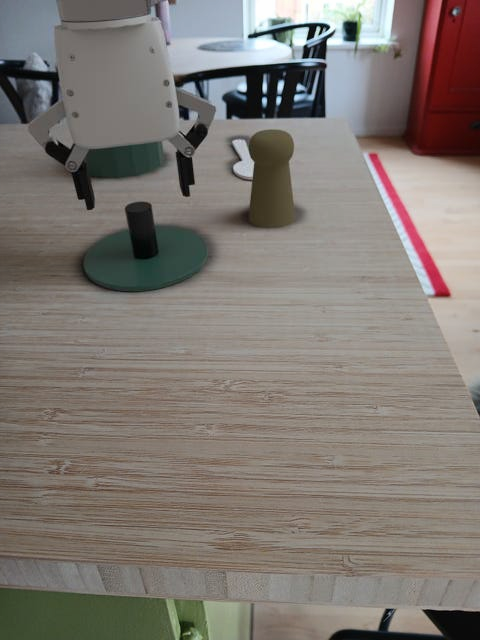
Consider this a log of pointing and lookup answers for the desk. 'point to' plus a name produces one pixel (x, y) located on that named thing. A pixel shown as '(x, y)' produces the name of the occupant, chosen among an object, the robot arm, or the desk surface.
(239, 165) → the spoon
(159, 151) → the cooker pot
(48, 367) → the desk surface
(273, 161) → the pepper mill
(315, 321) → the desk surface
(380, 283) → the desk surface
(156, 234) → the pot lid
